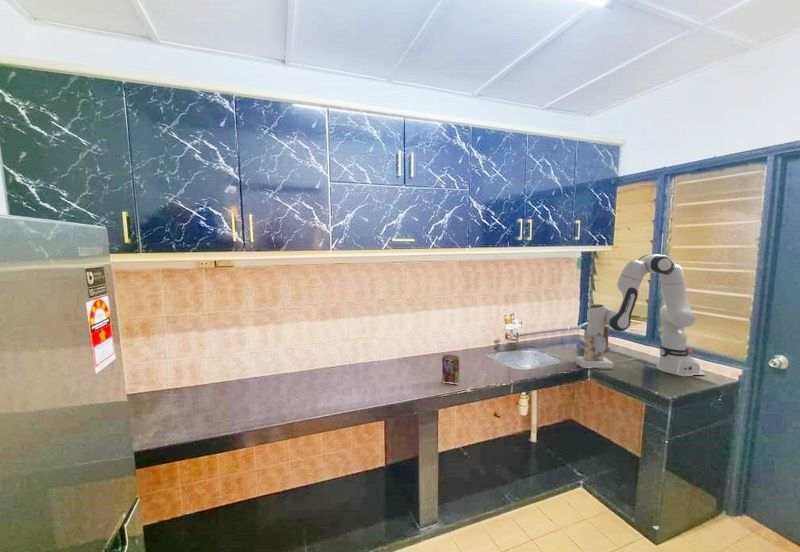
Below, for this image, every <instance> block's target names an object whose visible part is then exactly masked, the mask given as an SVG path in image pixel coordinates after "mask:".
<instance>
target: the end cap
mask: <svg viewBox="0 0 800 552" xmlns="http://www.w3.org/2000/svg"><path fill="white" fill-rule="evenodd" d="M575 362H576V363H577V364H578V365H580V366H581V367H592V368H601V369H600V370H614V362H613V361H611V360H610V359H608V358H607V357H606V356H605V357H604V356H603V361H585V360H584V355H583V356H580V355H579V356H577V355H575V356H574V363H575ZM576 363H575V364H576ZM577 364H576V365H577ZM578 365H577V366H578Z"/></svg>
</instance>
